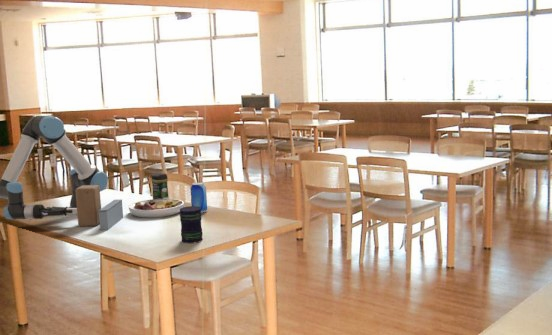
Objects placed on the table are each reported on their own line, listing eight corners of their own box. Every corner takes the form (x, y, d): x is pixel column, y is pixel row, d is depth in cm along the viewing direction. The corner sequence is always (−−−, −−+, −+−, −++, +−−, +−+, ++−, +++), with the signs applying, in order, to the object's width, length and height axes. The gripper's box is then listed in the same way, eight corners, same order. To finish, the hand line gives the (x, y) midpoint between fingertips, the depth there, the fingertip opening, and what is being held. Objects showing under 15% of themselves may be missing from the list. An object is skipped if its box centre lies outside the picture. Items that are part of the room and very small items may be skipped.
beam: (115, 218, 355) (114, 199, 353) (123, 217, 354) (121, 199, 353) (100, 230, 329) (98, 210, 328) (108, 229, 329) (106, 210, 327)
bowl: (142, 206, 382) (141, 193, 381) (191, 207, 376) (190, 193, 375) (120, 219, 353) (119, 204, 352) (172, 219, 347) (172, 205, 346)
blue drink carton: (189, 213, 360) (187, 184, 357) (196, 209, 367) (195, 181, 365) (202, 214, 357) (201, 185, 354) (210, 210, 364) (208, 182, 362)
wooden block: (96, 226, 337) (93, 188, 334) (77, 226, 338) (74, 188, 334) (102, 221, 347) (99, 184, 344) (84, 222, 347) (81, 185, 344)
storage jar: (202, 242, 299) (200, 210, 296) (180, 243, 298) (178, 211, 296) (203, 236, 309) (201, 205, 306) (182, 238, 308) (180, 206, 306)
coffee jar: (150, 204, 388) (148, 173, 385) (162, 201, 394) (160, 171, 391) (160, 206, 381) (158, 174, 379) (171, 203, 387) (169, 172, 384)
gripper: (40, 215, 350) (84, 214, 348) (30, 221, 337) (75, 220, 335) (39, 202, 349) (83, 201, 347) (28, 207, 336) (73, 206, 334)
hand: (79, 210), depth 341 cm, fingers closed
